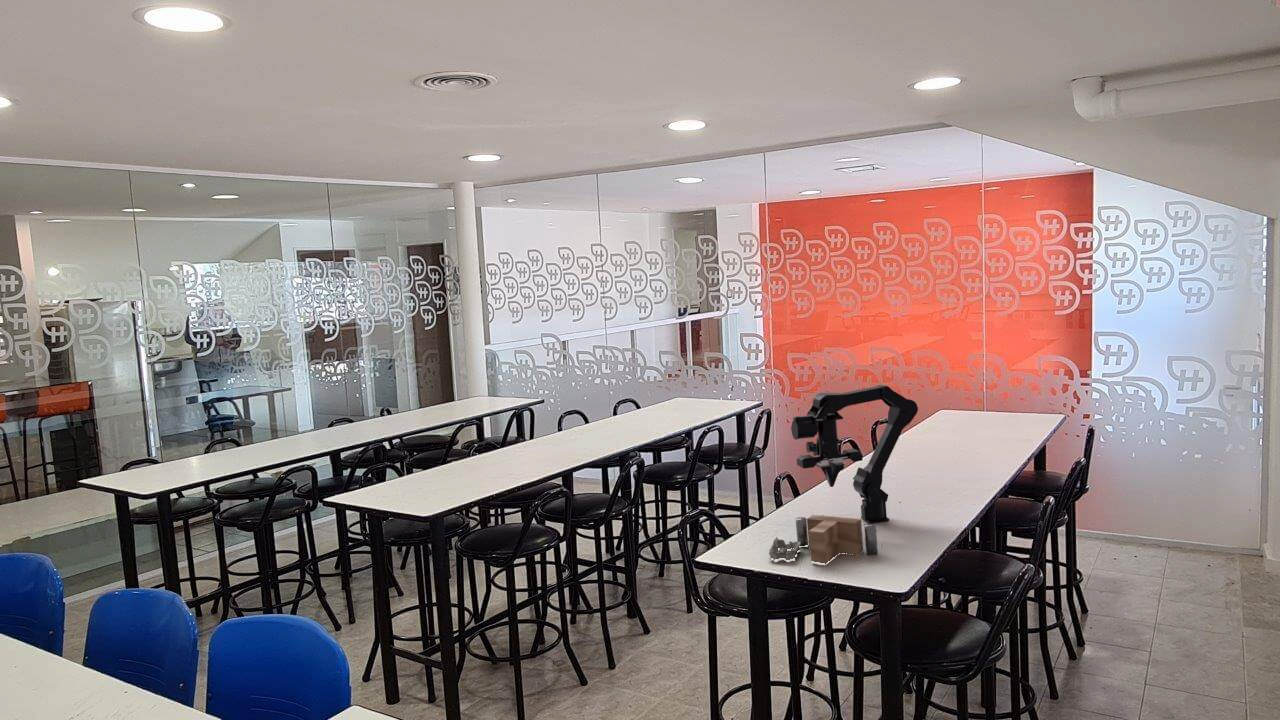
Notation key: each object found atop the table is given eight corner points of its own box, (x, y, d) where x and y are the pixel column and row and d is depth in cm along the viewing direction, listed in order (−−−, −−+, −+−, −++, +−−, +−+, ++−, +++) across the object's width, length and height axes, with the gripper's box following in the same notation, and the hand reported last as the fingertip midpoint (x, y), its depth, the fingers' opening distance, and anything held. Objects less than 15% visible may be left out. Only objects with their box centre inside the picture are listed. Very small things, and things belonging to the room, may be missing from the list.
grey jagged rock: (777, 550, 240) (775, 536, 240) (803, 551, 237) (802, 537, 237) (766, 563, 230) (765, 548, 230) (794, 564, 227) (793, 549, 227)
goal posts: (800, 544, 242) (798, 516, 242) (879, 552, 229) (877, 523, 228) (796, 547, 240) (793, 519, 239) (875, 556, 227) (873, 527, 226)
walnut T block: (815, 546, 240) (812, 514, 239) (863, 551, 232) (860, 518, 231) (794, 562, 228) (791, 529, 228) (843, 568, 220) (841, 534, 219)
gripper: (846, 427, 264) (849, 477, 265) (788, 434, 261) (792, 484, 262) (861, 433, 253) (865, 484, 254) (801, 441, 250) (805, 493, 251)
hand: (831, 486), depth 256 cm, fingers closed
